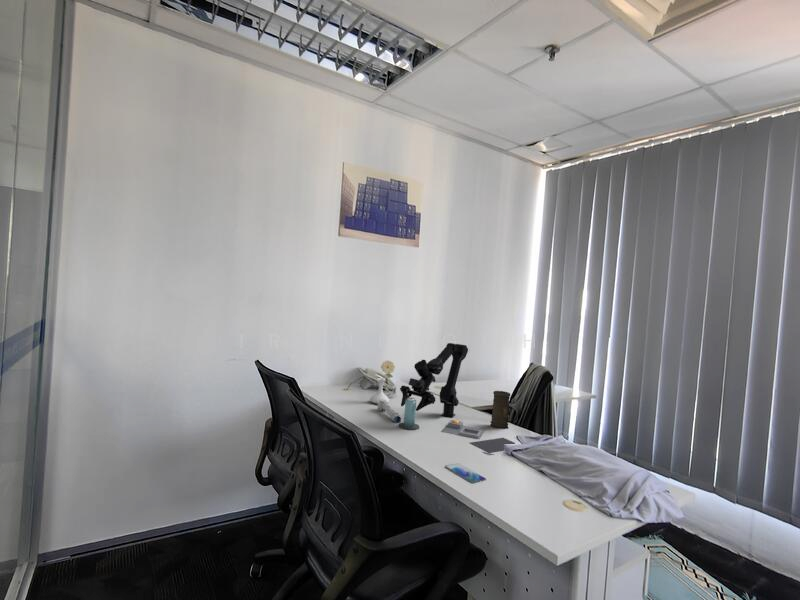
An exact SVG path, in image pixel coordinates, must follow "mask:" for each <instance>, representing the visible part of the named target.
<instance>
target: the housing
mask: <svg viewBox="0 0 800 600" xmlns="http://www.w3.org/2000/svg"><path fill="white" fill-rule="evenodd" d="M453 420H454V419H450V420H449V421H448V422H447V425H446V426H445V427H444V428H442V430H441V431H440V432H441V433H446V434H449V435H453V436H454V435H456V436H459V437H465V438H471V439H476V440H480V439H481V438H482V436H483V434H484V433H485V432H486V429H483V428H478V427H474V426H473V427H471V426H466V425H464V421H461V420H458V421H459V424H456V423H452V422H453Z"/></svg>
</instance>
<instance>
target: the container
mask: <svg viewBox="0 0 800 600" xmlns="http://www.w3.org/2000/svg"><path fill="white" fill-rule="evenodd" d="M492 394H493V403H492V415H491V420H490V425H489V426H490V427H492V428H495V429H498V430H506V429H507V430H508V429H509V411H510V410H509V409H510V397H511V393H510V392H507V391H503V390H494V391H493V393H492Z"/></svg>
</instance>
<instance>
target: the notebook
mask: <svg viewBox="0 0 800 600" xmlns="http://www.w3.org/2000/svg"><path fill="white" fill-rule="evenodd" d="M515 443H516V442H514V441H512V440H509V439H508V438H505V437H499V438H493V439H485V440H484V439H483V440H477V441H472V442H469V444H470V445H471V446H474V447H476V448H478V449H480V450H482V453H483V454H485V455H487V456H494V455H495V454H494V453H498V452H499V453H500V452H505V451H506V450H504V448H503V446H504V444H515Z"/></svg>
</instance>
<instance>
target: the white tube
mask: <svg viewBox="0 0 800 600" xmlns="http://www.w3.org/2000/svg"><path fill="white" fill-rule="evenodd" d="M377 411H378V412H380V411H382V413H386V414H387V415H388V416H389V418H390V420H391V421H392V422H394V423H395V424H399V423H402V422H401V421H402V417H401V416H400V414H399V413H398V412H396V411H395V410H394V408H392V407H391V406H390V405H389V404H388V403H386V400H385V399H380V402H379V404H377ZM385 411H386V412H385Z"/></svg>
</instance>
